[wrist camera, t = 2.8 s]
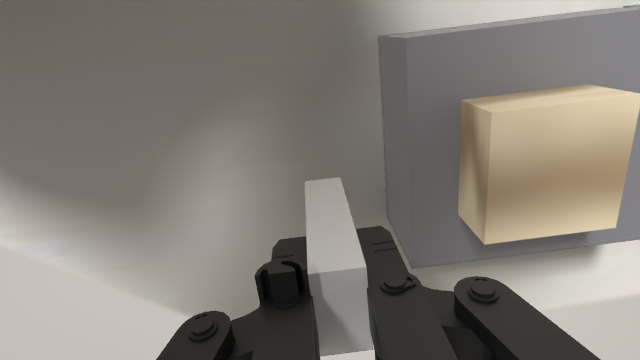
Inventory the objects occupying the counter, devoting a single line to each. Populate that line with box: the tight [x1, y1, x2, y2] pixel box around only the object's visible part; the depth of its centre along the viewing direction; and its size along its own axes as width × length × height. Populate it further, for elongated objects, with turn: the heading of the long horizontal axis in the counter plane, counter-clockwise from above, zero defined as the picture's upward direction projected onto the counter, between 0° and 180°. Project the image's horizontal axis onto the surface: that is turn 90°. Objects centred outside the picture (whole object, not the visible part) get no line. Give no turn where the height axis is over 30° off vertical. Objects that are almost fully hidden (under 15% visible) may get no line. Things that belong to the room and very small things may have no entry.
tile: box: [458, 84, 640, 245], centre depth 17 cm, size 6×6×3 cm
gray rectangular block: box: [379, 7, 640, 269], centre depth 22 cm, size 12×13×6 cm
